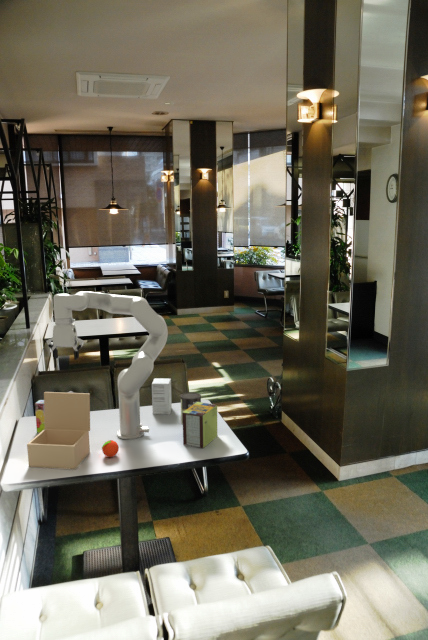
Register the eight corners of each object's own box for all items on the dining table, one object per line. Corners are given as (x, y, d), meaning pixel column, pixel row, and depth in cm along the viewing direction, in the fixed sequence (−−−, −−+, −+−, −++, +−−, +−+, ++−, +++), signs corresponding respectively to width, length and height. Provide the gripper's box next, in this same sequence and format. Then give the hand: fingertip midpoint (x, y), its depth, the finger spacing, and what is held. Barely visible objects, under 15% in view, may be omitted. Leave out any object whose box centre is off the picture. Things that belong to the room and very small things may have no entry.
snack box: (83, 429, 247) (81, 400, 244) (79, 434, 241) (77, 404, 239) (41, 428, 249) (39, 399, 246) (36, 433, 244) (33, 403, 241)
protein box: (217, 435, 238) (217, 404, 236) (203, 448, 225) (202, 415, 222) (197, 432, 243) (197, 401, 240) (182, 444, 229) (181, 412, 226)
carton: (89, 452, 222) (88, 430, 220) (75, 469, 206) (74, 446, 204) (46, 450, 224) (44, 428, 223) (28, 467, 209) (27, 444, 207)
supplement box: (154, 407, 276) (154, 378, 273) (171, 407, 276) (171, 378, 273) (152, 414, 266) (151, 383, 263) (169, 414, 266) (169, 383, 263)
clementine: (106, 462, 212) (106, 446, 211) (97, 457, 217) (96, 441, 216) (122, 456, 218) (121, 440, 217) (112, 451, 223) (112, 435, 222)
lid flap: (89, 430, 220) (94, 426, 227) (88, 393, 219) (94, 390, 225) (44, 428, 223) (51, 424, 229) (43, 392, 222) (50, 389, 228)
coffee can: (205, 423, 253) (204, 396, 251) (186, 427, 248) (186, 400, 246) (195, 417, 262) (194, 390, 260) (177, 421, 257) (176, 394, 254)
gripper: (85, 320, 229) (87, 357, 232) (49, 319, 231) (51, 356, 234) (79, 323, 222) (81, 361, 225) (41, 322, 224) (44, 360, 227)
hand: (66, 358), depth 229 cm, fingers open, 9 cm apart
